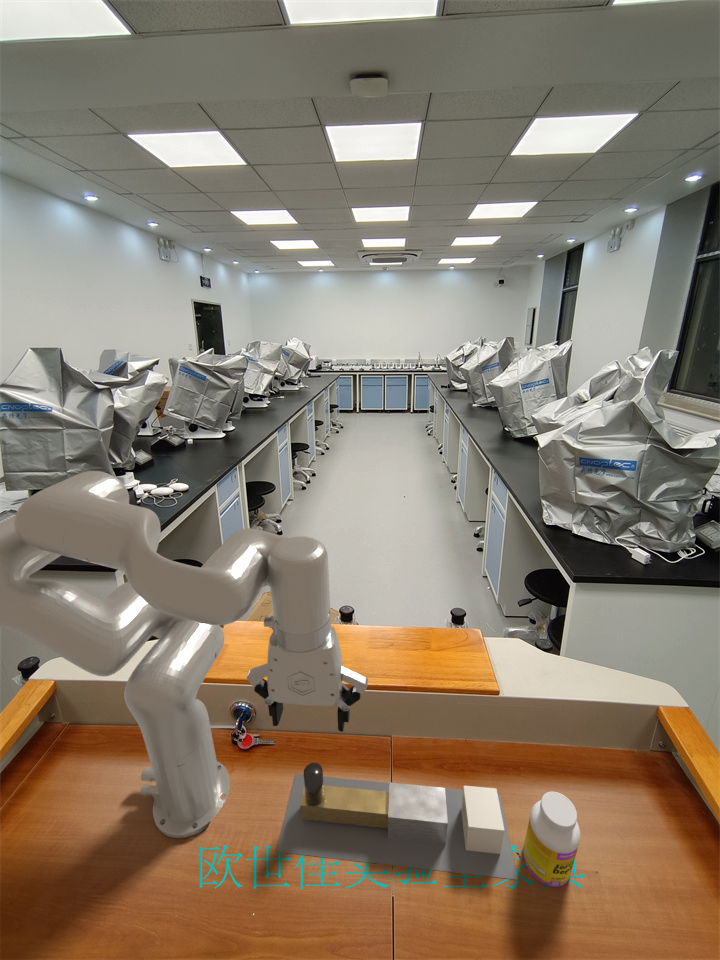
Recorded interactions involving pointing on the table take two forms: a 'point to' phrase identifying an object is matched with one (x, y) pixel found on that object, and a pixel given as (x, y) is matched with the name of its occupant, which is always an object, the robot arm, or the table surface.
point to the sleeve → (417, 813)
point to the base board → (380, 849)
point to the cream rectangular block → (482, 819)
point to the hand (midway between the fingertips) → (310, 720)
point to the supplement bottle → (552, 839)
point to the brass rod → (341, 802)
